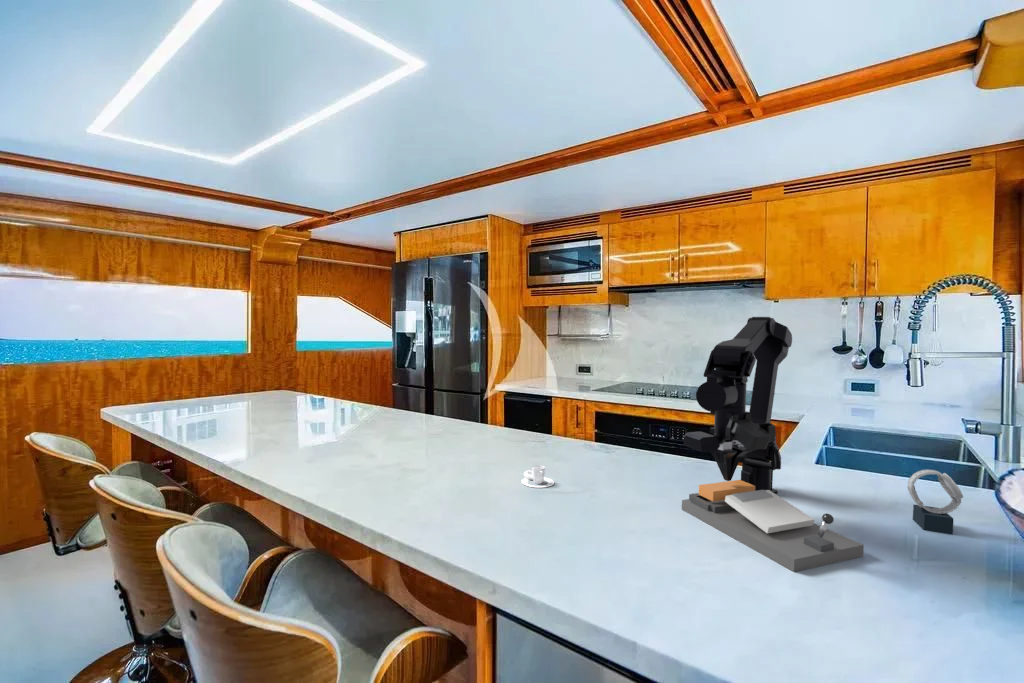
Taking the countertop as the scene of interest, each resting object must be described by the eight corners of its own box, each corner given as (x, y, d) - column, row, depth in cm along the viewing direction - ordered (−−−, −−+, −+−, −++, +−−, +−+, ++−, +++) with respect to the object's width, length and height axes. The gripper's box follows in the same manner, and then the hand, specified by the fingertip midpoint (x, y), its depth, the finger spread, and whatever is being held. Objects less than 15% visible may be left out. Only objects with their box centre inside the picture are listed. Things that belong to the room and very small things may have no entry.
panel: (740, 500, 104) (741, 486, 104) (863, 556, 79) (864, 537, 79) (681, 509, 98) (682, 494, 98) (793, 571, 74) (794, 551, 74)
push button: (739, 489, 101) (740, 479, 101) (755, 495, 97) (755, 486, 97) (698, 494, 97) (699, 485, 97) (712, 501, 94) (713, 491, 93)
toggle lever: (818, 533, 79) (828, 510, 78) (826, 540, 78) (837, 517, 76) (811, 534, 79) (821, 512, 77) (819, 541, 77) (830, 518, 76)
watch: (966, 536, 88) (969, 478, 87) (912, 528, 91) (915, 472, 91) (952, 525, 93) (955, 470, 93) (901, 517, 96) (904, 464, 96)
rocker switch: (767, 495, 94) (769, 488, 94) (812, 525, 85) (814, 518, 85) (724, 501, 91) (726, 494, 90) (767, 533, 82) (769, 526, 81)
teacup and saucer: (521, 476, 119) (521, 460, 118) (553, 477, 118) (553, 461, 118) (521, 489, 110) (521, 471, 110) (555, 490, 110) (555, 472, 109)
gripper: (724, 415, 86) (721, 499, 86) (799, 410, 92) (795, 488, 93) (682, 404, 96) (680, 479, 97) (752, 401, 103) (749, 471, 103)
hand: (727, 480), depth 97 cm, fingers closed
